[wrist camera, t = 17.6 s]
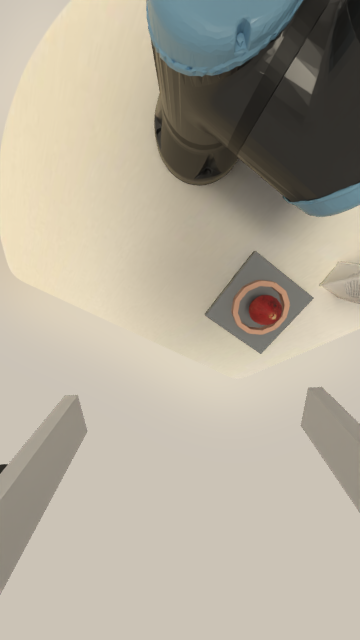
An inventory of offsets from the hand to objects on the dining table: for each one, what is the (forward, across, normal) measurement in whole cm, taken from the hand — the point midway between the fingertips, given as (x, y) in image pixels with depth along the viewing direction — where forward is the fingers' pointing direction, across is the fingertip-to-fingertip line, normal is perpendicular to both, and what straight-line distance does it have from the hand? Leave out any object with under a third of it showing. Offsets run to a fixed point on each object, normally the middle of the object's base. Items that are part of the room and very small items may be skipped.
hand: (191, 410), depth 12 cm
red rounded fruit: (+32, +15, -3) cm, 35 cm away
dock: (+33, +15, -3) cm, 36 cm away
